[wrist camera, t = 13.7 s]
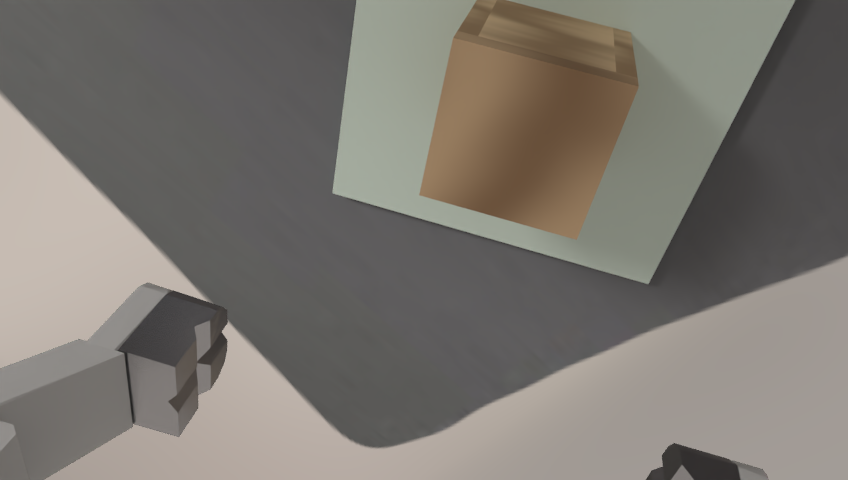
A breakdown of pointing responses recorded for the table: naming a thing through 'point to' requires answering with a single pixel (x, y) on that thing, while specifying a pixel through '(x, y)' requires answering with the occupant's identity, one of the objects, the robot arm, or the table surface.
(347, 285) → the table surface
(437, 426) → the table surface
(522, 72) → the oak block
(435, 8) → the sage mat
